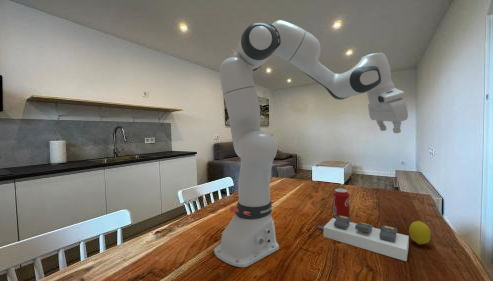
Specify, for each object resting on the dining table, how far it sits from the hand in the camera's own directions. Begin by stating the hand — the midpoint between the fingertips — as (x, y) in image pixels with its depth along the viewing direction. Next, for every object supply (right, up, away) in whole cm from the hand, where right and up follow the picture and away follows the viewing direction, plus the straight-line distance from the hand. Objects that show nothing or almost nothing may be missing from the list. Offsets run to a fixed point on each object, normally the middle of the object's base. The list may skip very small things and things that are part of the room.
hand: (390, 131), depth 82 cm
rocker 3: (-9, -33, -13) cm, 37 cm away
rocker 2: (-15, -33, -9) cm, 37 cm away
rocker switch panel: (-16, -38, -7) cm, 42 cm away
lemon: (+2, -38, -11) cm, 40 cm away
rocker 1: (-20, -33, -4) cm, 39 cm away
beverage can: (-14, -37, +12) cm, 41 cm away
